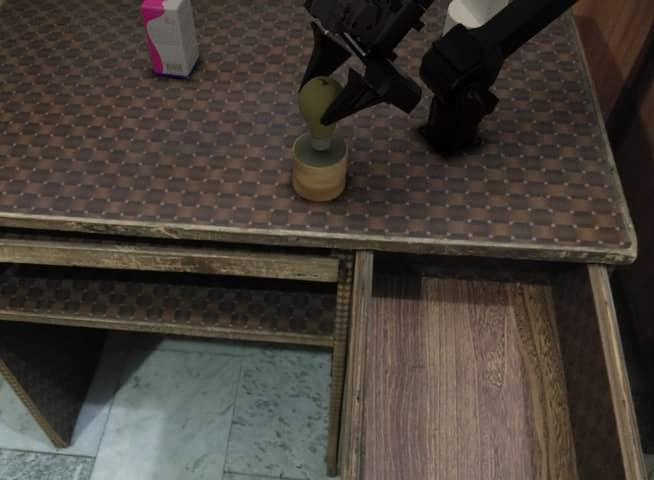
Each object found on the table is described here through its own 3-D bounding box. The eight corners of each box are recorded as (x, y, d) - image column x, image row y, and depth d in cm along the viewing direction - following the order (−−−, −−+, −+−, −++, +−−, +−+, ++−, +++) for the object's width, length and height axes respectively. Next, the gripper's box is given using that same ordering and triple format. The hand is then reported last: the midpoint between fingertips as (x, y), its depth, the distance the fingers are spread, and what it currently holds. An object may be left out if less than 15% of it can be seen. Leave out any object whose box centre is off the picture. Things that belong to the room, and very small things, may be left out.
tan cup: (355, 190, 84) (358, 156, 79) (307, 208, 82) (308, 175, 77) (329, 157, 87) (331, 123, 82) (284, 174, 86) (283, 140, 81)
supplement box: (200, 57, 102) (190, -12, 93) (188, 79, 99) (176, 11, 90) (167, 53, 103) (153, -16, 94) (154, 75, 100) (138, 7, 91)
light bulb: (351, 142, 80) (356, 74, 72) (329, 169, 78) (331, 103, 69) (313, 127, 82) (314, 60, 74) (290, 153, 80) (288, 87, 71)
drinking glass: (431, 36, 101) (445, -39, 91) (483, 25, 102) (503, -52, 92) (456, 69, 96) (473, -7, 86) (511, 57, 97) (534, -20, 87)
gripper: (319, -88, 66) (232, 37, 74) (410, 0, 56) (299, 135, 64) (380, -34, 74) (295, 75, 81) (469, 52, 64) (364, 167, 71)
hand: (311, 109), depth 74 cm, fingers closed on light bulb, 5 cm apart
